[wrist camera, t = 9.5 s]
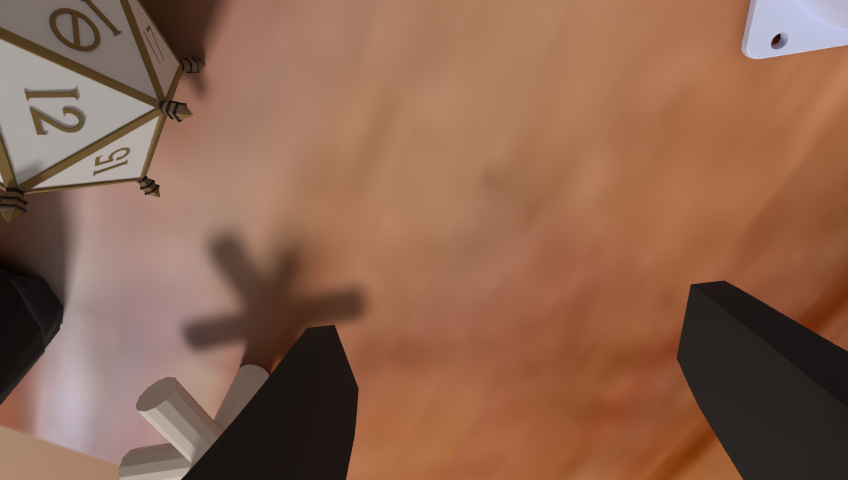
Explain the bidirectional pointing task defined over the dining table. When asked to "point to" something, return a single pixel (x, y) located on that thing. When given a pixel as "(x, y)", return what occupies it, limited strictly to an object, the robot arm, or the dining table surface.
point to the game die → (82, 96)
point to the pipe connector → (185, 425)
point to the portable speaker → (24, 326)
